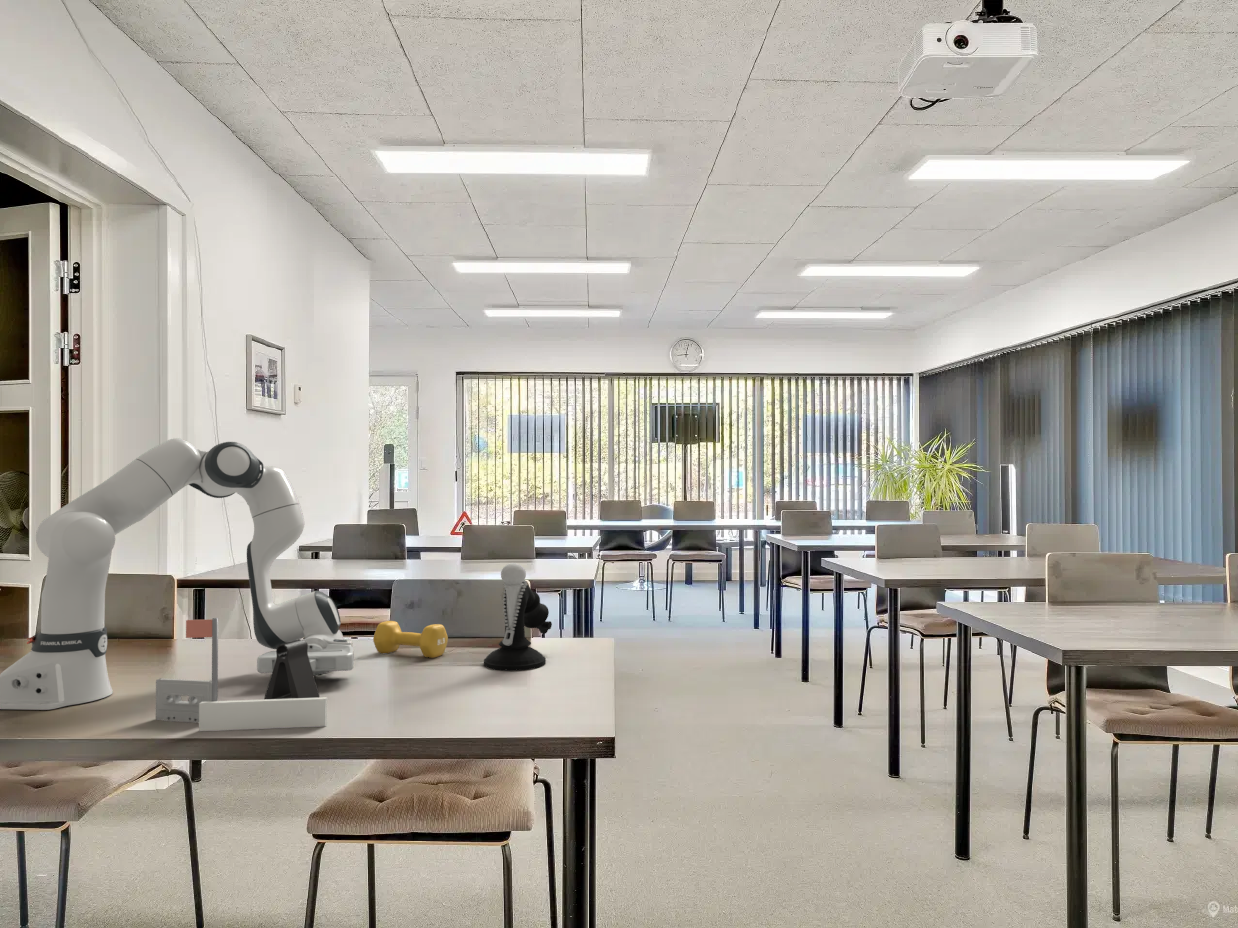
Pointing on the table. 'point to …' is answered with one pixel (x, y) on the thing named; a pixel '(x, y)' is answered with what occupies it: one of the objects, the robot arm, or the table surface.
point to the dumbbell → (410, 639)
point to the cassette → (171, 703)
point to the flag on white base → (251, 711)
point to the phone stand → (292, 673)
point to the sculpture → (519, 623)
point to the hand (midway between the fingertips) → (298, 668)
